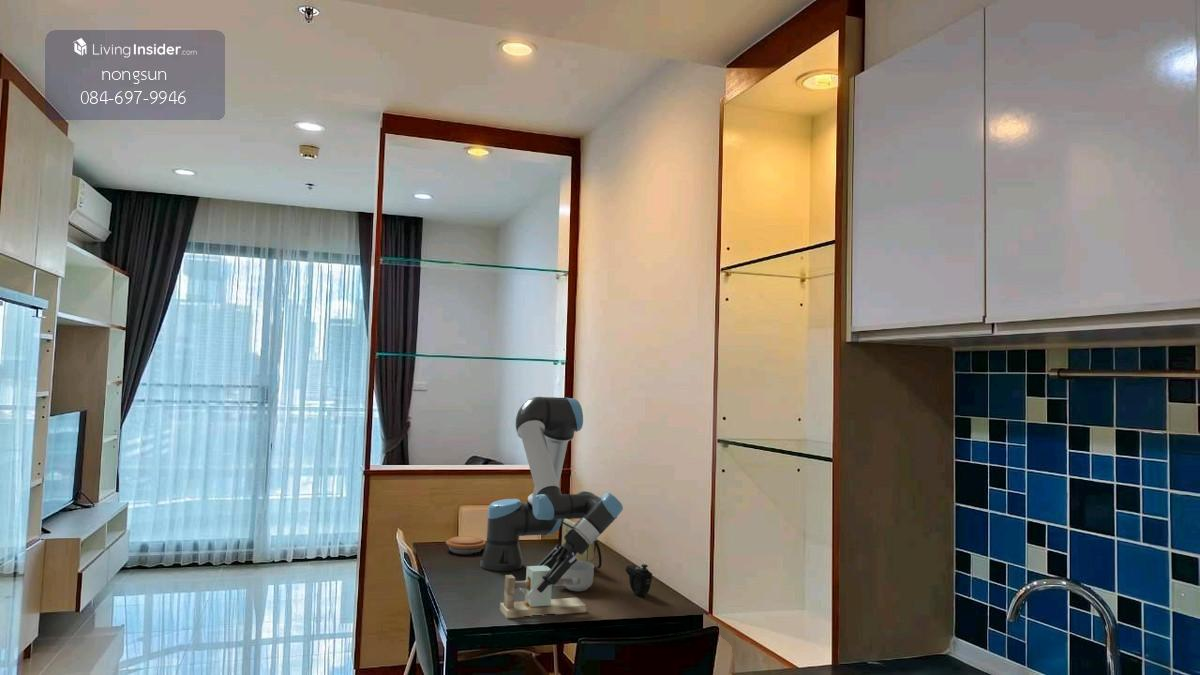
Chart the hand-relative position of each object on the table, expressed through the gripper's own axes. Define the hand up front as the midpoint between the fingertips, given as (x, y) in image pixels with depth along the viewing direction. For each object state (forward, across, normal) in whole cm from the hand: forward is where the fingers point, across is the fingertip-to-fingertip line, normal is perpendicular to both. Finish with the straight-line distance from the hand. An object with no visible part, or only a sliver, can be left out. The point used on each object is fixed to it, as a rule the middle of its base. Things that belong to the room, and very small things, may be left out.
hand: (526, 595), depth 218 cm
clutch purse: (-22, +50, -29) cm, 62 cm away
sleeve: (-1, 0, -4) cm, 4 cm away
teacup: (-12, +21, -19) cm, 31 cm away
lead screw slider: (0, 0, -7) cm, 7 cm away
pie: (+4, +79, -3) cm, 79 cm away
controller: (-25, +10, -32) cm, 42 cm away
